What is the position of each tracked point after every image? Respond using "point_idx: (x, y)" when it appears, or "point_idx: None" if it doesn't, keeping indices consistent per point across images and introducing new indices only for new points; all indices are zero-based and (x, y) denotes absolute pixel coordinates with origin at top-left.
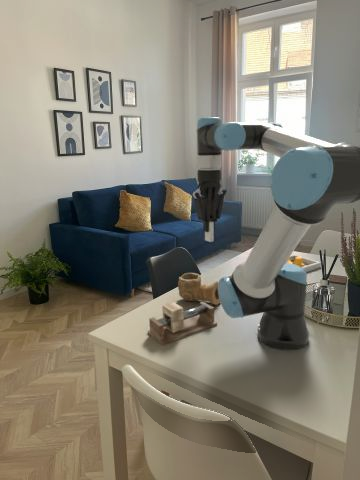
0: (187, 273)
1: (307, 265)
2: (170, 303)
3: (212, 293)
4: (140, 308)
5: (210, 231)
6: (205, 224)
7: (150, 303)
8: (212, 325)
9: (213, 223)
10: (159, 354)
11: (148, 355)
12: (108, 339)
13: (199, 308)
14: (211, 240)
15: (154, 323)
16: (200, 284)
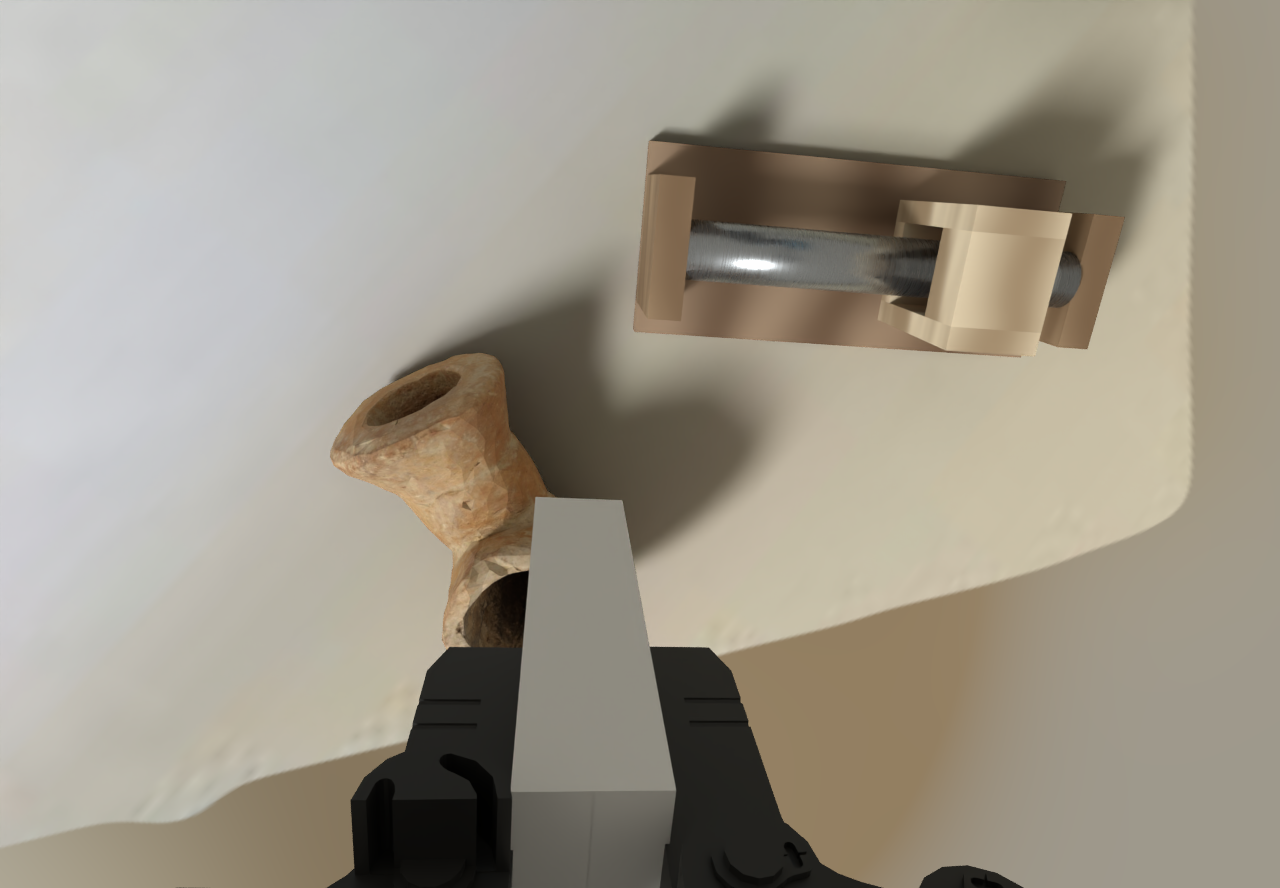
0: None
1: None
2: (980, 337)
3: (489, 382)
4: (844, 620)
5: (628, 611)
6: (769, 814)
7: (760, 641)
8: (689, 145)
9: (520, 752)
10: (1134, 109)
11: (1176, 144)
12: (1184, 427)
13: (754, 240)
14: (588, 507)
15: (1101, 280)
16: (483, 540)
